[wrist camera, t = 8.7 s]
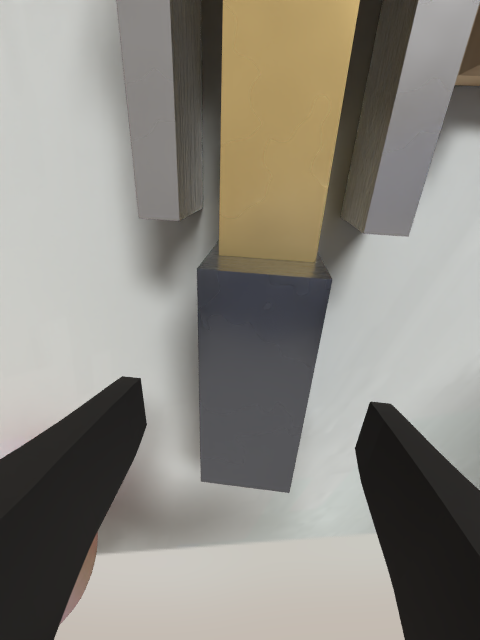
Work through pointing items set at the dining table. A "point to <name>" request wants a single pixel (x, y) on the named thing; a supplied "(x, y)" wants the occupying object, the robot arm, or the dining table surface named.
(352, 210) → the sleeve
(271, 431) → the tall gray pillar
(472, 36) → the rack
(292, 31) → the tan blocky piece
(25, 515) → the robot arm
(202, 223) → the dining table surface
